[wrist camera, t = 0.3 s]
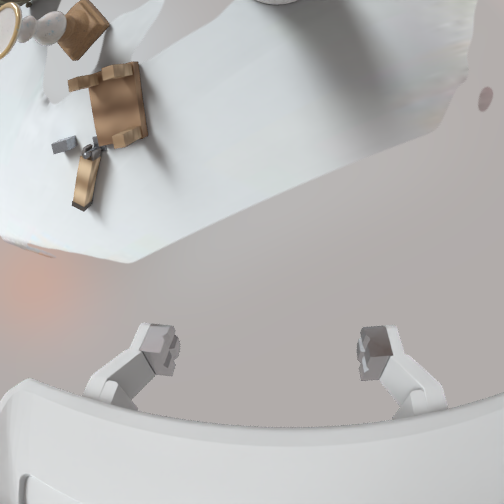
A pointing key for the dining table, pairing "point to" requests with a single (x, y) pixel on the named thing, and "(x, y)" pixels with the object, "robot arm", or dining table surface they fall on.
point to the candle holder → (53, 28)
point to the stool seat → (115, 103)
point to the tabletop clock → (19, 0)
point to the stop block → (64, 144)
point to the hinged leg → (86, 179)
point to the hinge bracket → (96, 146)
